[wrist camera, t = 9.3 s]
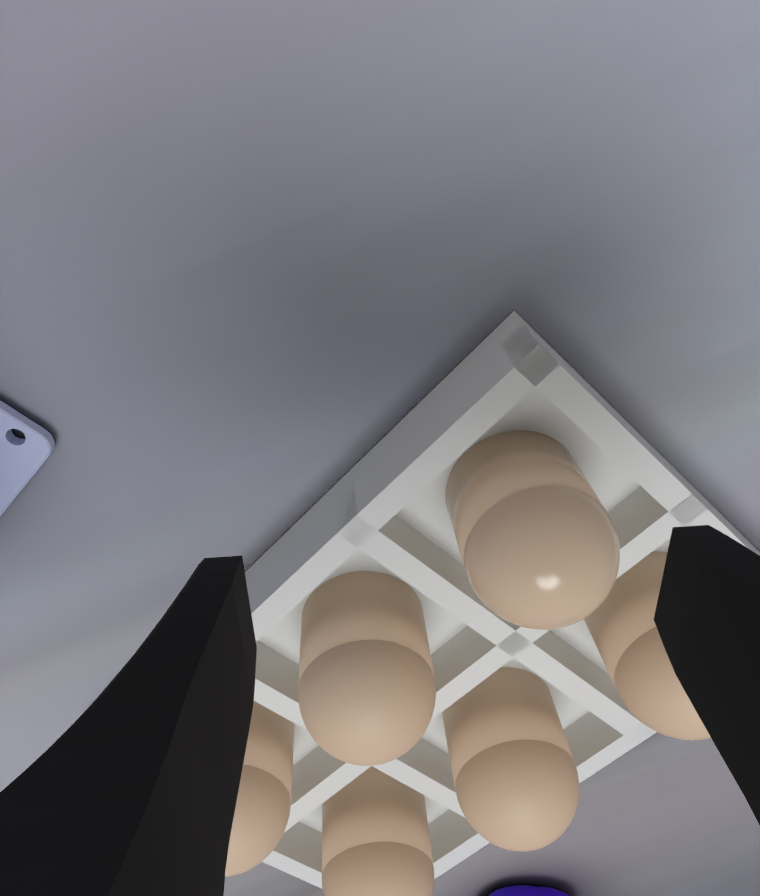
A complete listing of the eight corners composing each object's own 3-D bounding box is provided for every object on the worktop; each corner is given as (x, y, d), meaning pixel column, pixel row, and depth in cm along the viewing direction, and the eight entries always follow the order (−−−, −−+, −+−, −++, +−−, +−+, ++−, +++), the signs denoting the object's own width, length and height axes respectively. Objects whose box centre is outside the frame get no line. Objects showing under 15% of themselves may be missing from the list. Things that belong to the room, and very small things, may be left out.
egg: (417, 497, 21) (443, 613, 17) (515, 404, 20) (571, 503, 15) (508, 564, 22) (554, 687, 18) (604, 481, 21) (679, 591, 17)
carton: (98, 714, 26) (40, 881, 21) (514, 310, 19) (582, 404, 14) (376, 852, 31) (386, 1013, 26) (777, 569, 25) (898, 708, 19)
